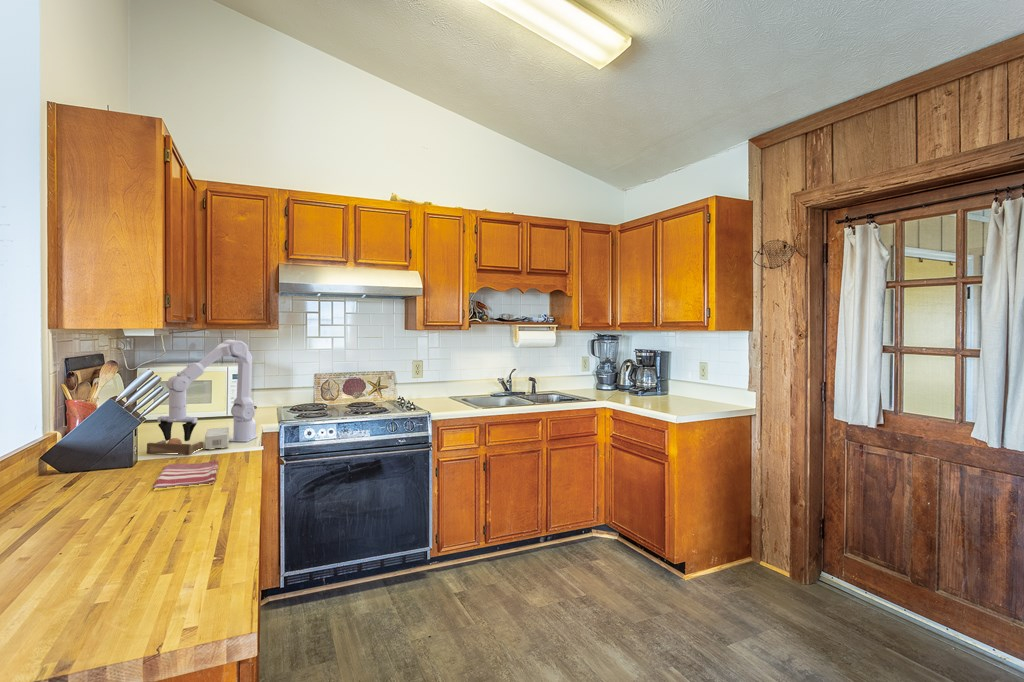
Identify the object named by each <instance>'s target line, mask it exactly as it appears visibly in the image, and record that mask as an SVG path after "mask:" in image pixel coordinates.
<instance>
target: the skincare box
mask: <svg viewBox="0 0 1024 682" xmlns="http://www.w3.org/2000/svg"><path fill="white" fill-rule="evenodd" d="M229 428H230V427H228V426H226V427H225V426H224V427H217V428H207V430H206V433H205V436H204V445H205V449H209V450H211V449H210V448H221V449H223V448H222V447H228V448H229V442H230V441H229V440H230V431H229V430H230V429H229ZM205 449H204V450H205Z"/></svg>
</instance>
